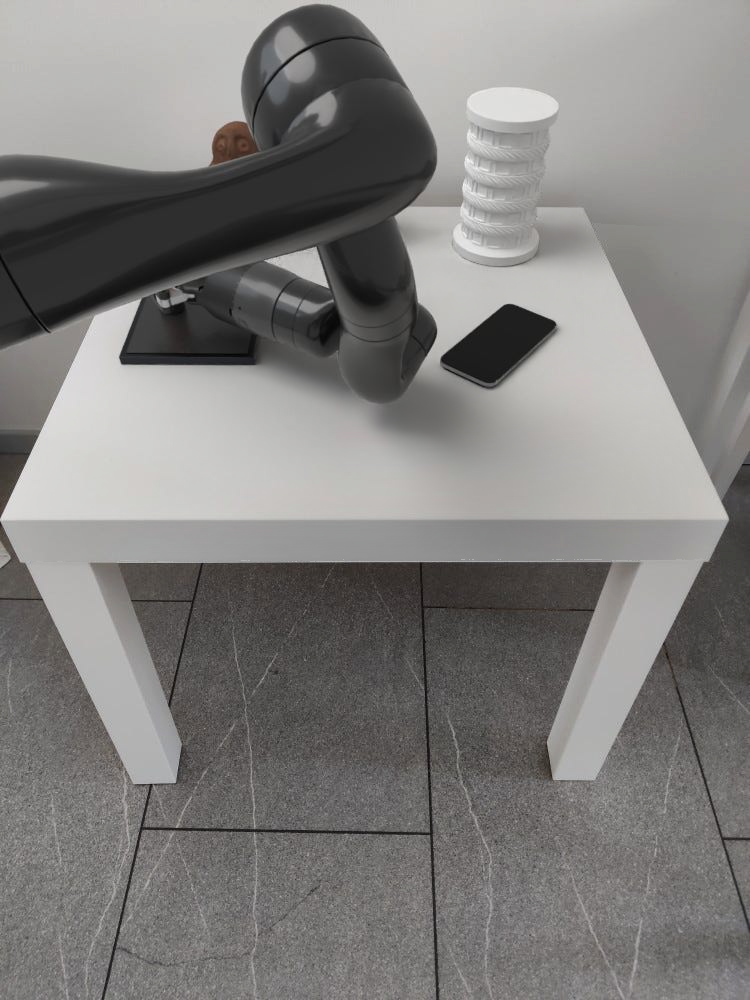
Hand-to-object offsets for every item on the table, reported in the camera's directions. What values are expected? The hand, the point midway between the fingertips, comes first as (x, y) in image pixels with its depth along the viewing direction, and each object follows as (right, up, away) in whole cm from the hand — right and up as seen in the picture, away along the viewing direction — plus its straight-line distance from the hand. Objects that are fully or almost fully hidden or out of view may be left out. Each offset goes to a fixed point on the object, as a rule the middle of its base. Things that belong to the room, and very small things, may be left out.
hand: (143, 251), depth 88 cm
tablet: (+6, -6, +5) cm, 10 cm away
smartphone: (+41, -11, 0) cm, 42 cm away
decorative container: (+43, +6, +16) cm, 46 cm away
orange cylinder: (+2, -6, +4) cm, 7 cm away
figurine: (+9, +8, +18) cm, 22 cm away
